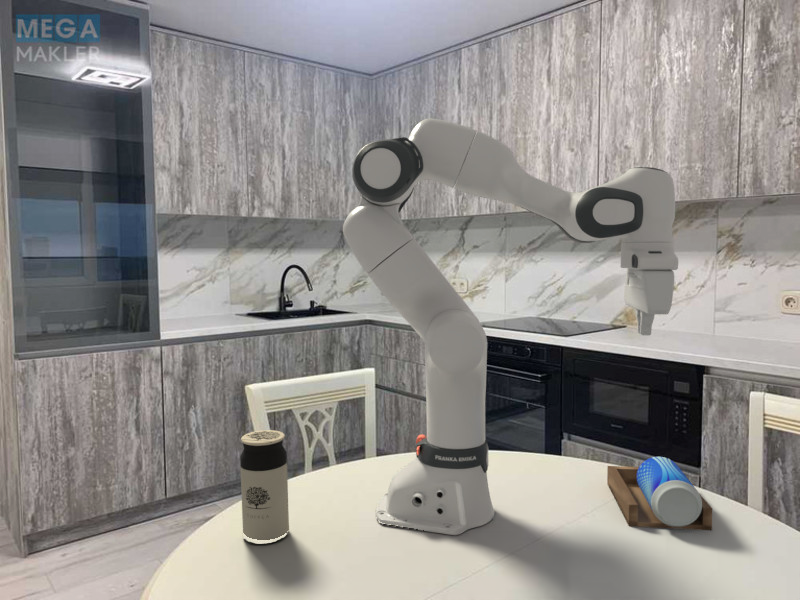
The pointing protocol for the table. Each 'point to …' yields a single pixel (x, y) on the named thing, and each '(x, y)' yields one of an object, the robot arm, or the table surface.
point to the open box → (645, 501)
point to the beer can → (669, 492)
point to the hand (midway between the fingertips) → (644, 334)
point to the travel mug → (264, 485)
